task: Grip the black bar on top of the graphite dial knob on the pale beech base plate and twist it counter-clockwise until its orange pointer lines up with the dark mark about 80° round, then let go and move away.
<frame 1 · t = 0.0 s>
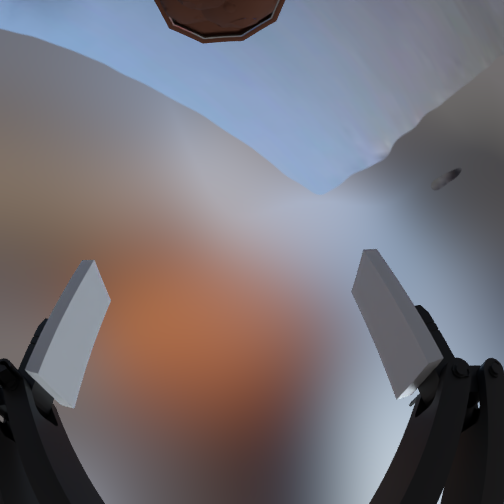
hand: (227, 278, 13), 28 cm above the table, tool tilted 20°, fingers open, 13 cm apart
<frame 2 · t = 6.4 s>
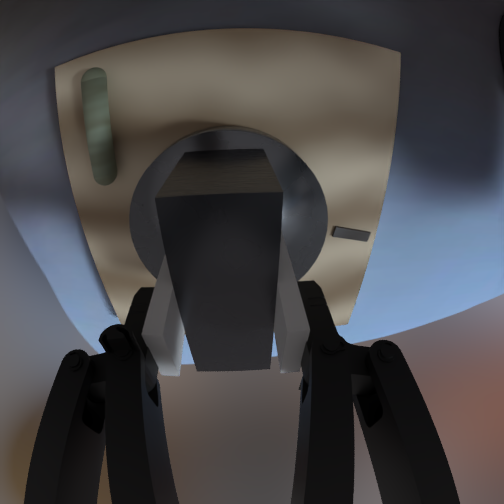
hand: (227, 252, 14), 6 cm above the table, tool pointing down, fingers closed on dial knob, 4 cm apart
base plate: (228, 203, 19), on the table
dial knob: (228, 268, 15), point 6 cm above the table, hinge at 0.0°, touching gripper
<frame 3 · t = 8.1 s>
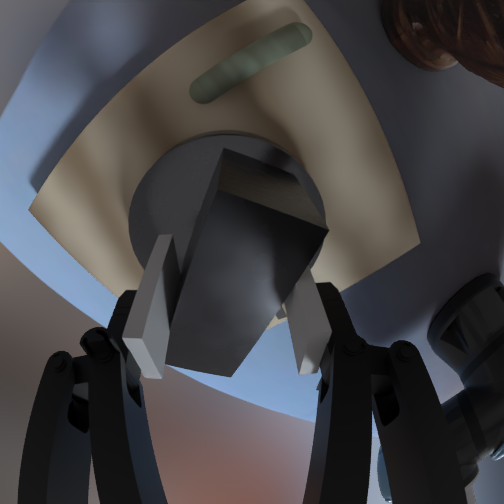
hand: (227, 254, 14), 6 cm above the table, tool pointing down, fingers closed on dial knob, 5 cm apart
base plate: (227, 207, 19), on the table
mortar and pestle: (403, 31, 12), on the table
dial knob: (219, 272, 15), point 6 cm above the table, hinge at 33.1°, touching gripper
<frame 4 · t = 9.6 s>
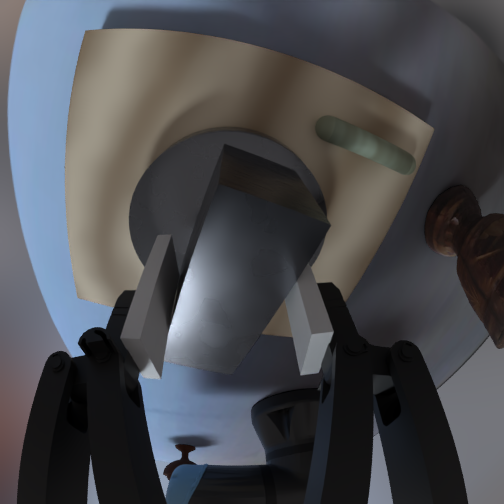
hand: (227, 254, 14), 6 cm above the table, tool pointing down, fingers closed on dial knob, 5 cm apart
base plate: (228, 204, 19), on the table
mortar and pestle: (440, 211, 21), on the table
ice cream bowl: (185, 446, 56), on the table
dial knob: (220, 268, 15), point 6 cm above the table, hinge at 83.7°, touching gripper
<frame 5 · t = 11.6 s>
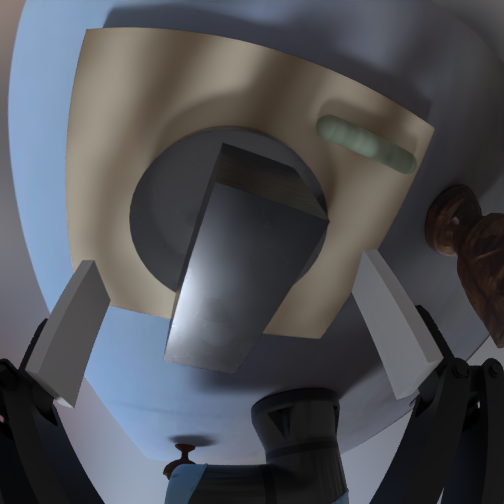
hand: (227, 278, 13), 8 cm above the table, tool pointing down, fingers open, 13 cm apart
base plate: (228, 203, 19), on the table
mortar and pestle: (440, 211, 21), on the table
ice cream bowl: (185, 445, 56), on the table
dial knob: (221, 267, 15), point 6 cm above the table, hinge at 85.0°
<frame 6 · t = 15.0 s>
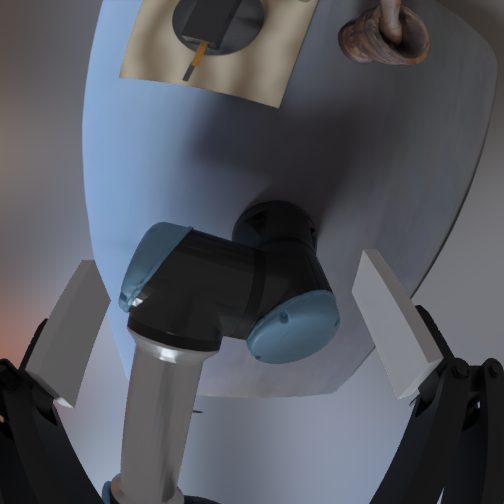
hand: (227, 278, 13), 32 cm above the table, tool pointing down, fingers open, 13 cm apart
base plate: (219, 22, 28), on the table
mortar and pestle: (349, 37, 29), on the table
dial knob: (213, 18, 23), point 6 cm above the table, hinge at 85.0°
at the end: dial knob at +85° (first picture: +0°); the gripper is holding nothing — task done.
